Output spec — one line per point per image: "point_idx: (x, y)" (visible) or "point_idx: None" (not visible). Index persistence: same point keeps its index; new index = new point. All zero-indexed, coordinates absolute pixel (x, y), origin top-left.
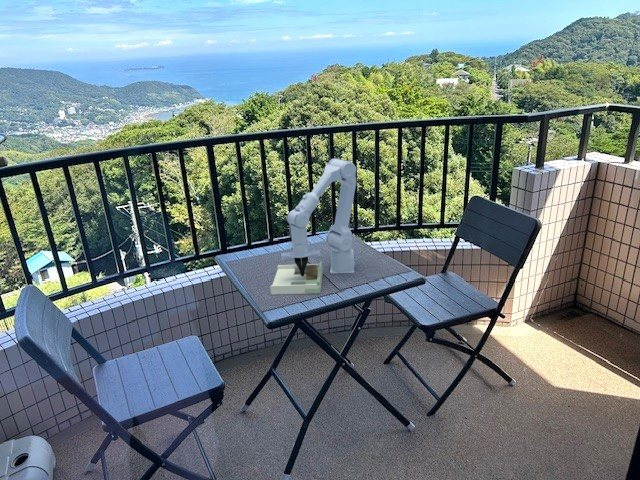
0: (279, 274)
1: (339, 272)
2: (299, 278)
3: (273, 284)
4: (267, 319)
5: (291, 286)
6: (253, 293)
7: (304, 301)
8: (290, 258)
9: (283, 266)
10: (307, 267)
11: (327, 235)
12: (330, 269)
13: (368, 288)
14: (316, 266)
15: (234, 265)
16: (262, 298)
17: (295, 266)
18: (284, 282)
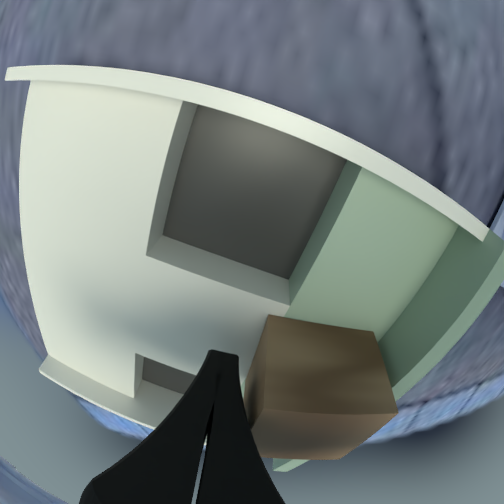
0: (37, 198)
1: (501, 286)
2: (195, 341)
3: (42, 323)
4: (99, 422)
5: (139, 418)
6: (2, 286)
7: None
8: (60, 500)
9: (49, 79)
10: (272, 435)
11: None
12: (501, 214)
13: (453, 409)
14: (365, 434)
15: None
16: (42, 339)
17: (180, 97)
18: (91, 338)
